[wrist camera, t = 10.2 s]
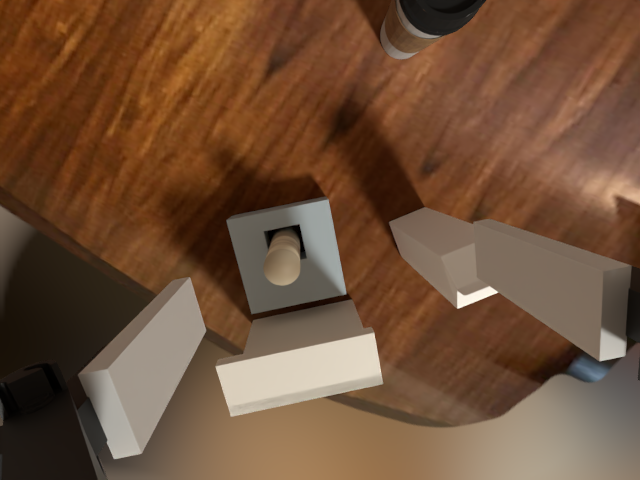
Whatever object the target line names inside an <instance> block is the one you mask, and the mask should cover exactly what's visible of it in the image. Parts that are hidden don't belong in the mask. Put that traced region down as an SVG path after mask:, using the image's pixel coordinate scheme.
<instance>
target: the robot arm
mask: <svg viewBox="0 0 640 480" xmlns="http://www.w3.org/2000/svg"><path fill="white" fill-rule="evenodd" d="M474 237H475V253H476V269H477V278H478V279H480V280H481V281H483V282H484V283H486V284H487V285H489V286H490V287H492V288H493V289H494V290H496V291H497V292H499V293H500V294H502V295H503V296H505V297H506V298H508V299H509V300H511V301H512V302H514V303H515V304H516V305H518V306H519V307H521V308H522V309H524V310H525V311H527V312H528V313H530V314H531V315H533V316H534V317H535V318H537V319H538V320H540V321H541V322H543V323H544V324H546V325H547V326H549V327H550V328H552V329H553V330H555V331H556V332H557V333H559V334H560V335H562V336H563V337H565V338H566V339H568V340H569V341H571V342H572V343H574V344H575V345H577V346H578V347H579V348H581V349H582V350H584V351H585V352H587V353H588V354H590V355H591V356H593V357H594V358H596V359H597V360H598V361H603V360H608V359H613V358H618V357H623V356H626V343H627V336H628V337H630V338H632V339H633V340H635V341H637V342H639V343H640V269H639V268H636V267H633V266H631V265H628V264H625V263H622V262H619V261H616V260H613V259H610V258H607V257H604V256H601V255H598V254H595V253H592V252H589V251H586V250H583V249H580V248H577V247H573V246H570V245H567V244H564V243H561V242H558V241H555V240H552V239H549V238H546V237H543V236H540V235H537V234H534V233H531V232H528V231H525V230H522V229H519V228H516V227H513V226H510V225H507V224H504V223H501V222H498V221H495V220H492V219H487V220H481V221H476V222H474ZM205 332H206V328H205V325H204V322H203V319H202V315H201V312H200V309H199V305H198V302H197V299H196V296H195V292H194V289H193V286H192V282H191V279H190V277H187V278H182V279H177V280H173V281H172V282H171V283H170V284H169V285H168V286H167V287H166V288H165V289H164V290H163V291H162V292H161V293H160V294H159V295H158V296H157V297H156V298H155V299H154V300H153V301H152V302H151V303H150V304H149V305H148V306H147V307H146V308H145V309H144V310H143V311H142V312H141V313H140V314H139V315H138V316H137V317H136V318H135V319H134V320H133V321H132V322H130V324H128V326H127V327H125V329H124V330H122V332H120V333H119V334H118V336H116V337H115V338H114V339H113V340H112V341H111V342H110V343H109V344H107V345H105V346H104V347H102V348H101V349H100V350H99V351H98V352H97V353H96V354H95V355H94V356H93V357H92V359H90V360H89V361H88V362H87V363H86V364H85V365H84V367H82V368H81V369H80V370H79V371H78V372H77V373H76V374H75V375H74V376H73V377H72V378H70V379H69V380H68V381H67V382H65V380H64V378H63V375H62V373H61V371H60V369H59V367H58V364H57V362H55V361H54V360H45V361H41V362H38V363H34V364H31V365H29V366H26V367H23V368H21V369H19V370H17V371H15V372H13V373H11V374H9V375H8V376H6V377H5V378H3V379H1V380H0V415H1V418H2V419H3V426H0V480H108V479H107V476H106V473H105V470H104V468H103V465H102V463H101V460H100V458H99V456H98V454H99V453H100V451H101V450H102V448H103V447H104V445H105V444H106V442H107V444H108V446H109V448H110V451H111V453H112V455H113V457H114V459H117V458H122V457H127V456H132V455H137V454H141V453H142V452H143V450H144V448H145V446H146V444H147V442H148V440H149V439H150V437H151V435H152V433H153V431H154V429H155V427H156V425H157V423H158V421H159V419H160V417H161V416H162V414H163V412H164V410H165V408H166V406H167V404H168V402H169V400H170V398H171V397H172V395H173V393H174V391H175V389H176V387H177V385H178V383H179V381H180V380H181V377H182V375H183V374H184V371H185V370H186V368H187V366H188V364H189V362H190V361H191V359H192V357H193V355H194V353H195V351H196V349H197V347H198V345H199V343H200V342H201V340H202V338H203V336H204V334H205ZM638 380H640V360H639V372H638Z"/></svg>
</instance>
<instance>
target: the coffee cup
mask: <svg viewBox="0 0 640 480" xmlns="http://www.w3.org/2000/svg"><path fill="white" fill-rule="evenodd" d="M485 1H486V0H391V3H390V6H389V8H388V11H387V14H386V17H385V19H384V22H383V24H382V27H381V32H380V39H381V44H382V46H383V48H384V50H385V51H386V53H387V54H388V55H390V56H391V57H393V58H396V59H407V58H409V57H411V56H413V55H414V54H416V53H417V52H419V51H421V50H423V49H424V48H426V47H428V46H429V45H431V44H433V43H434V42H436V41H438V40H439V39H441V38H443V37H444V36H446V35H448V34H450V33H453V32H455V31H457V30H459V29H460V28H462V27H463V26H464V25H465V24H467V23H468V22H469V21H470V20H471V19H472V18H473V17H474V15H475V14H476V13H477V11H478V10H479V8H480V7H481V6H482V5H483V4H484V2H485Z"/></svg>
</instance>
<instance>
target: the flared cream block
mask: <svg viewBox="0 0 640 480" xmlns="http://www.w3.org/2000/svg"><path fill="white" fill-rule="evenodd" d="M216 370H217V373H218V376H219V379H220V382H221V385H222V389H223V392H224V395H225V398H226V402H227V405H228V408H229V411H230V414H231V416H236V415H241V414H245V413H250V412H255V411H260V410H264V409H269V408H273V407H278V406H283V405H288V404H292V403H297V402H302V401H306V400H311V399H315V398H320V397H325V396H330V395H334V394H339V393H344V392H348V391H353V390H358V389H362V388H367V387H372V386H376V385H381V384H383V381H382V375H381V369H380V363H379V358H378V352H377V346H376V341H375V335H374V331H373V329H372V327H369V328H363V326H362V323H361V321H360V318H359V316H358V313H357V310H356V308H355V305H354V303H353V300H352V299H351V300H346V301H341V302H337V303H332V304H327V305H322V306H318V307H313V308H308V309H303V310H299V311H294V312H289V313H284V314H280V315H275V316H270V317H265V318H261V319H256V320H253V322H252V326H251V329H250V333H249V336H248V340H247V343H246V347H245V350H244V353H243V354H241V355H236V356H232V357H227V358H222V359H218V362H217V364H216Z"/></svg>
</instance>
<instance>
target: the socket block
mask: <svg viewBox="0 0 640 480" xmlns="http://www.w3.org/2000/svg"><path fill="white" fill-rule="evenodd" d="M226 222H227V225H228V229H229V233H230V236H231V240H232V244H233V248H234V251H235V255H236V259H237V262H238V266H239V270H240V273H241V277H242V281H243V285H244V288H245V292H246V296H247V299H248V303H249V307H250V310H251V314H255V313H260V312H264V311H269V310H274V309H279V308H283V307H288V306H293V305H298V304H302V303H307V302H312V301H317V300H322V299H326V298H331V297H336V296H341V295H345V294H346V289H345V284H344V279H343V273H342V268H341V263H340V258H339V252H338V247H337V242H336V237H335V231H334V226H333V221H332V216H331V211H330V205H329V200H328V198H327V197H326V196H325V197H321V198H316V199H311V200H306V201H301V202H296V203H291V204H286V205H282V206H277V207H272V208H267V209H262V210H257V211H252V212H247V213H242V214H238V215H233V216H231V217H230V218H228V219H227V220H226ZM297 224H300V229H301V233H302V238H303V243H304V247H305V251H304V252H300V273H299V276H298V277H297V279H296V280H295V281H294V282H292V283H291V284H288V285H283V286H281V285H276V284H273V283H272V282H270V281H269V280H268V279H267V278H266V276H265V274H264V270H263V266H264V262H265V259H266V256H267V253H268V250H269V247H270V244H271V243H270V239H269V235H268V230H273V229H278V228H283V227H288V226H292V225H297Z"/></svg>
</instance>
